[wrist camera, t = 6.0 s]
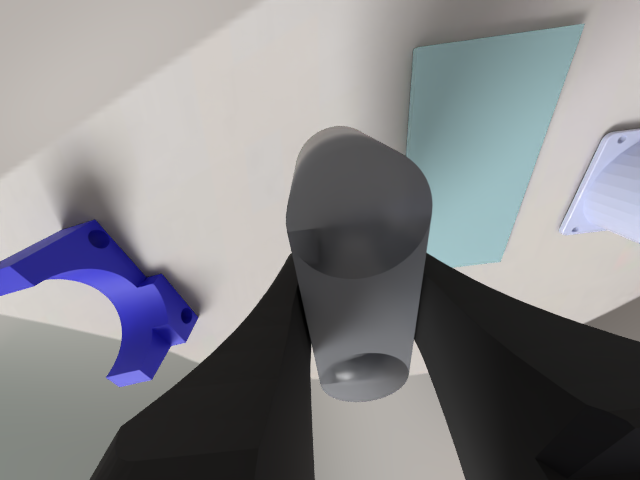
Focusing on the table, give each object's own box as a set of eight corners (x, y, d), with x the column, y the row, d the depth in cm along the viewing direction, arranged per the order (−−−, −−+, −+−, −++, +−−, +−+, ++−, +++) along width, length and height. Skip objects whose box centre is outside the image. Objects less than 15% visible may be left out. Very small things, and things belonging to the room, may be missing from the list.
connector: (381, 120, 8) (443, 134, 5) (377, 333, 15) (402, 415, 11) (287, 132, 9) (270, 157, 5) (323, 340, 15) (329, 423, 11)
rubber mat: (573, 26, 13) (584, 23, 12) (495, 257, 21) (500, 261, 21) (413, 49, 13) (417, 47, 13) (397, 269, 21) (400, 273, 21)
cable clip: (199, 316, 24) (168, 376, 18) (159, 326, 24) (119, 387, 19) (113, 213, 17) (32, 259, 12) (63, 228, 18) (-35, 279, 13)
